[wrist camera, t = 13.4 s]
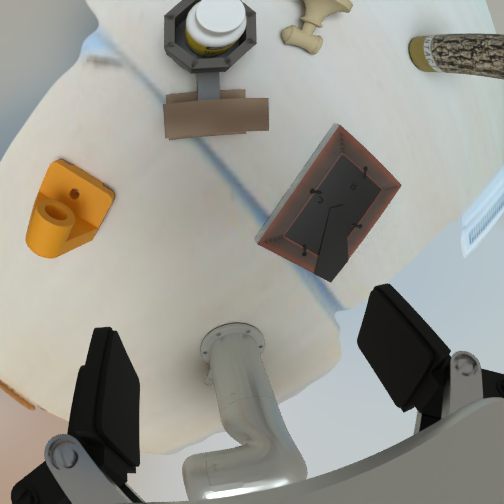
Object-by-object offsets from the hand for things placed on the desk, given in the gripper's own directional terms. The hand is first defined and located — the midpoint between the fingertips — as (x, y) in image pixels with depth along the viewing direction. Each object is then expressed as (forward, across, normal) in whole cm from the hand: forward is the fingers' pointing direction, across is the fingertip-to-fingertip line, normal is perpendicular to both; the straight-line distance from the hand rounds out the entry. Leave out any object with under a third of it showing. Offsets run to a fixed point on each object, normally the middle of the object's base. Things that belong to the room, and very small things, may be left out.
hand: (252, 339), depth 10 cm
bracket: (+33, +18, +2) cm, 37 cm away
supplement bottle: (+26, -1, -16) cm, 31 cm away
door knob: (+33, -15, -21) cm, 42 cm away
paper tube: (+32, -38, -20) cm, 54 cm away
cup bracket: (+32, -1, -12) cm, 35 cm away
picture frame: (+33, -20, +9) cm, 40 cm away
